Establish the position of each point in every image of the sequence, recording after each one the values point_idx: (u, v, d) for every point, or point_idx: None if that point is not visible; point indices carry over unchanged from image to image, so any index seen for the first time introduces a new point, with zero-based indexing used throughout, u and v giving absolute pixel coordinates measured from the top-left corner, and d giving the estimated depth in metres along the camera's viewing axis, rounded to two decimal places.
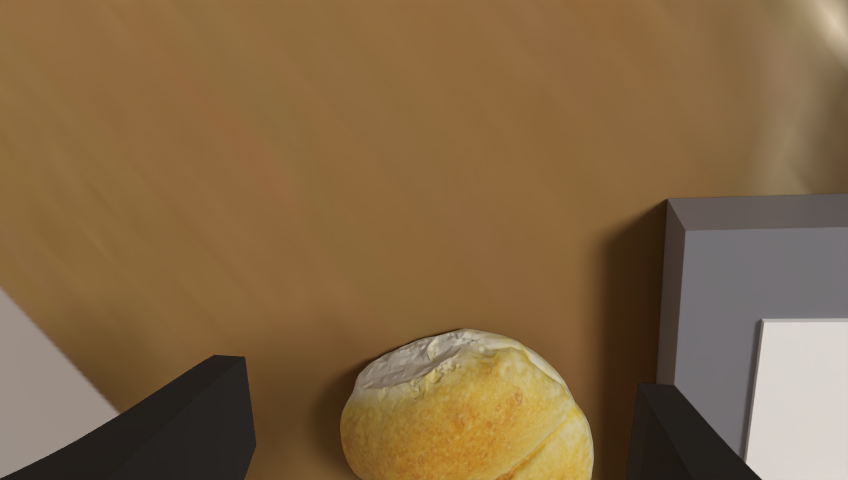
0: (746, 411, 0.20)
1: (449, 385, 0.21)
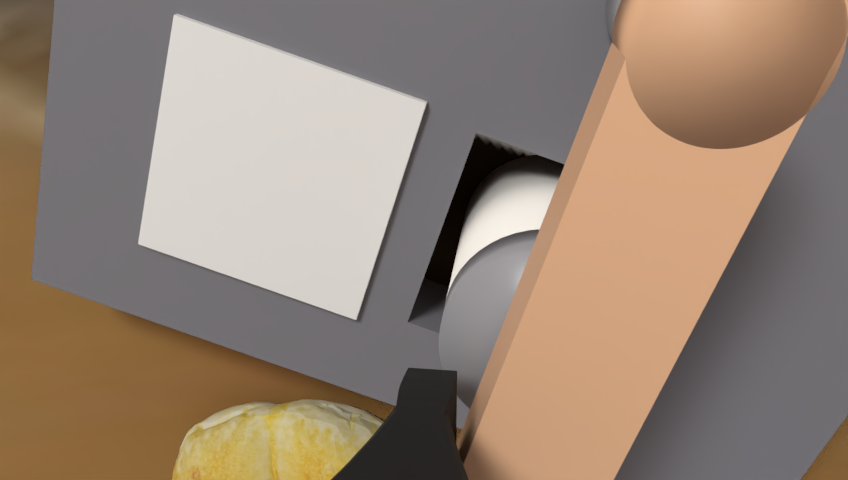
0: (261, 286, 0.17)
1: None
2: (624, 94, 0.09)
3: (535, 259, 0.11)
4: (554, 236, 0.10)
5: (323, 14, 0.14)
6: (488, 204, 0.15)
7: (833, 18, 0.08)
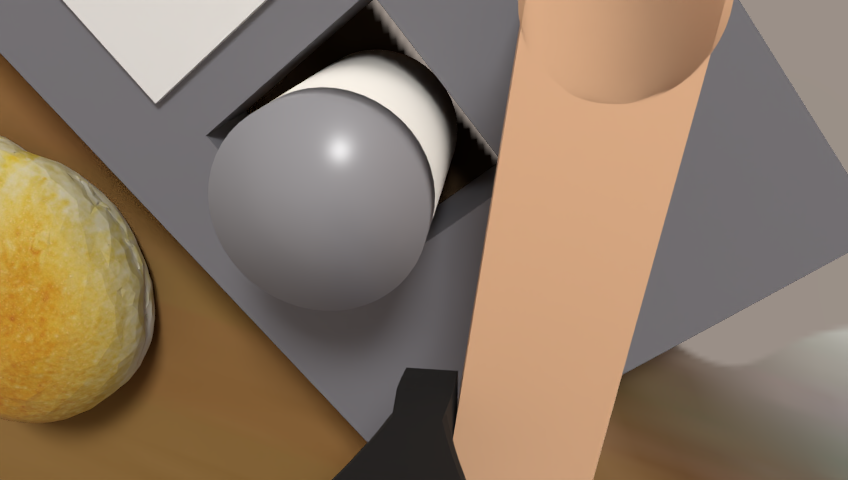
0: (74, 13, 0.15)
1: None
2: (527, 64, 0.09)
3: (484, 242, 0.11)
4: (490, 215, 0.10)
5: None
6: (343, 66, 0.15)
7: None
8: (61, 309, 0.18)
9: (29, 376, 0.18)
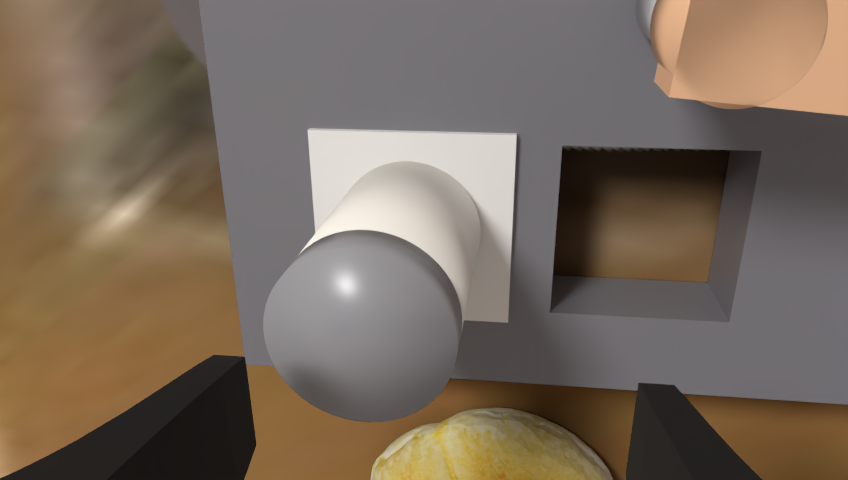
0: None
1: None
2: (784, 99, 0.12)
3: None
4: None
5: (418, 93, 0.18)
6: None
7: None
8: None
9: None
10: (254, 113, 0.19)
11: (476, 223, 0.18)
